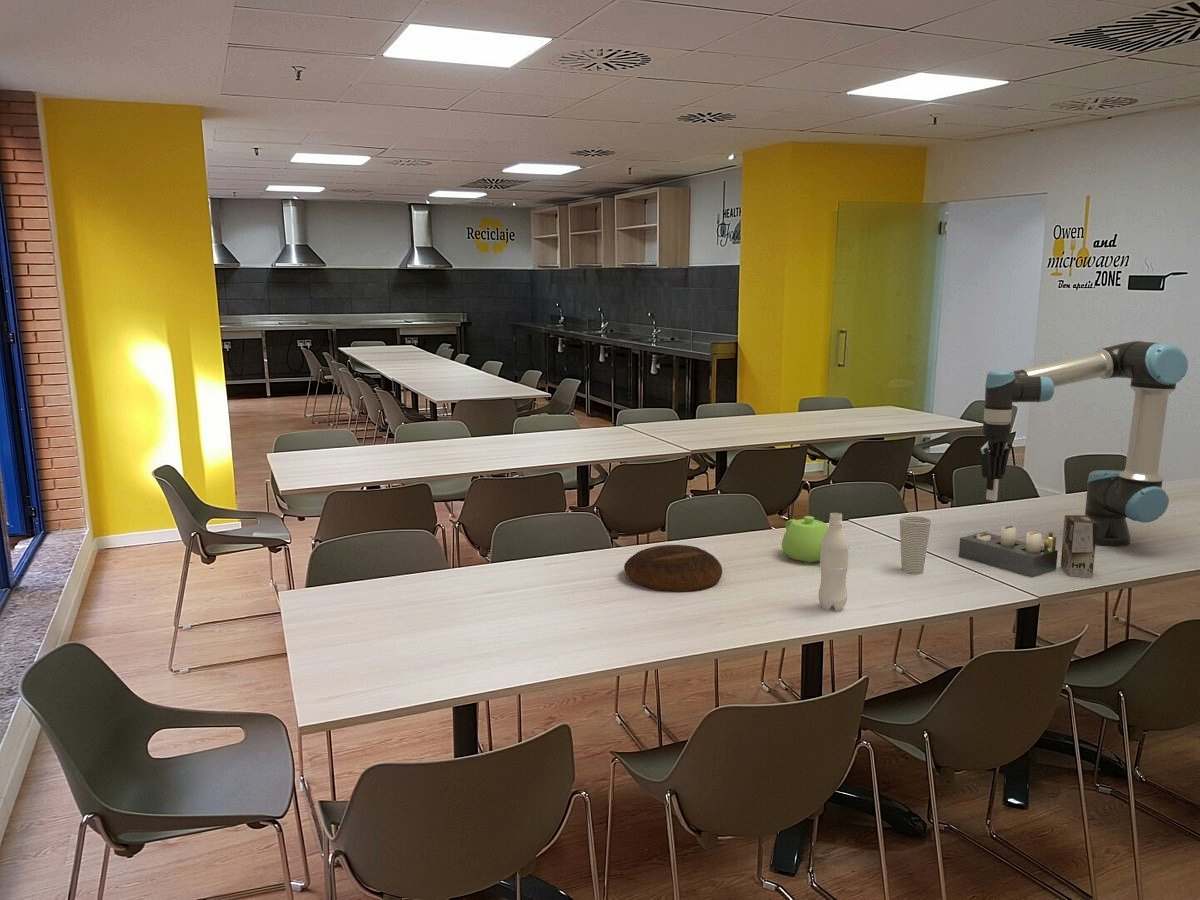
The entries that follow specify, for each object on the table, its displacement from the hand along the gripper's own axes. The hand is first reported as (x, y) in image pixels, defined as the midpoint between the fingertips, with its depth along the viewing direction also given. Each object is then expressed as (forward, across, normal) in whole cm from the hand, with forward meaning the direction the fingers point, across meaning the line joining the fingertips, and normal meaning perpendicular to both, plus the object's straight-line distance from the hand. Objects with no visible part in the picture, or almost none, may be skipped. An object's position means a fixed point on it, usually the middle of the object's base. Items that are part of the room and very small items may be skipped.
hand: (991, 499), depth 270 cm
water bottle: (+18, +71, +4) cm, 73 cm away
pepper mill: (+12, -4, +17) cm, 21 cm away
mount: (+18, 0, +6) cm, 19 cm away
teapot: (+18, +46, -29) cm, 57 cm away
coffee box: (+19, -9, +22) cm, 31 cm away
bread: (+19, +91, -38) cm, 100 cm away
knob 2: (+14, 0, +6) cm, 15 cm away
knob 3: (+14, 0, +14) cm, 20 cm away
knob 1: (+18, 0, -2) cm, 18 cm away
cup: (+18, +29, -4) cm, 35 cm away
